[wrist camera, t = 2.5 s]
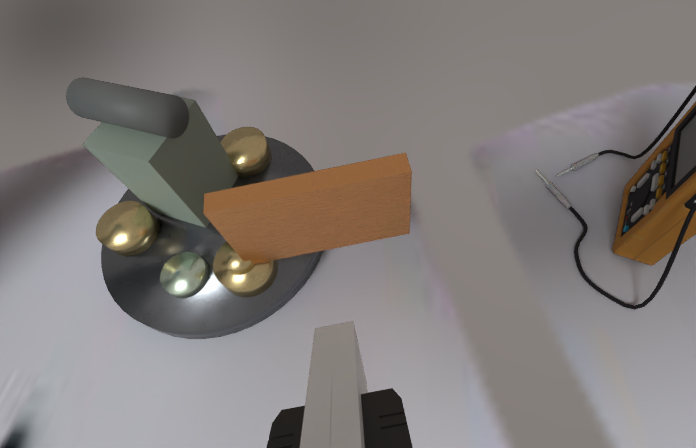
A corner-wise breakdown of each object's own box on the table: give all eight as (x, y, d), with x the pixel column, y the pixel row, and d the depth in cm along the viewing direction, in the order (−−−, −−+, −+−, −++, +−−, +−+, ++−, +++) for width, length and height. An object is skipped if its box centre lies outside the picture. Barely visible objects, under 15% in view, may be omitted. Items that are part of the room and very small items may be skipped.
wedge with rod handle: (143, 208, 36) (41, 112, 25) (179, 159, 38) (98, 54, 28) (216, 230, 33) (134, 135, 23) (248, 177, 36) (188, 70, 26)
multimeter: (544, 134, 37) (668, -140, 20) (665, 163, 34) (938, -134, 16) (501, 264, 31) (627, 31, 14) (643, 314, 28) (1037, 94, 10)
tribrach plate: (70, 294, 34) (34, 277, 31) (191, 131, 43) (172, 103, 39) (266, 376, 29) (248, 366, 25) (359, 169, 37) (354, 141, 34)
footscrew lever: (223, 302, 29) (154, 245, 21) (223, 251, 32) (162, 182, 23) (413, 265, 29) (418, 192, 21) (400, 216, 31) (399, 134, 23)
